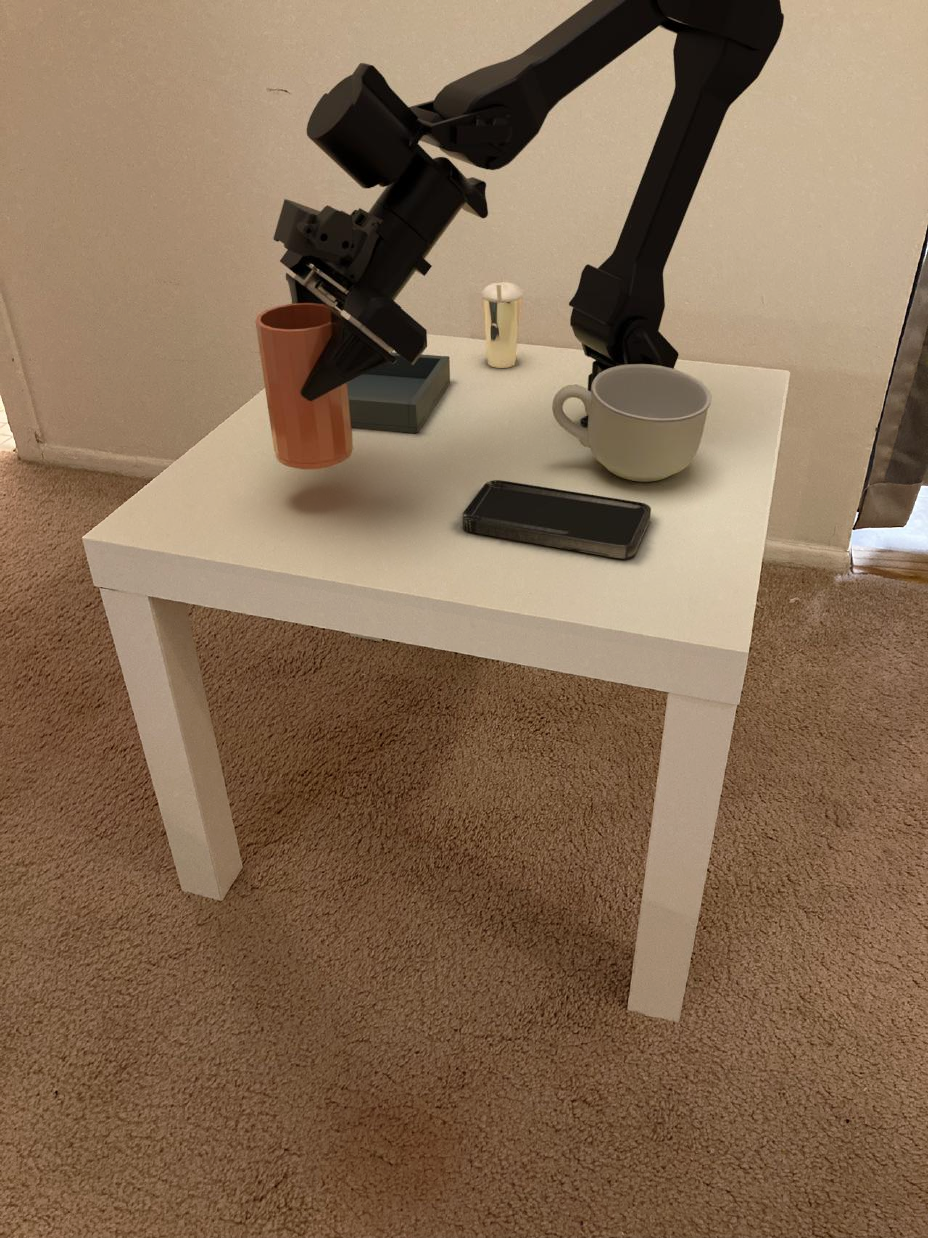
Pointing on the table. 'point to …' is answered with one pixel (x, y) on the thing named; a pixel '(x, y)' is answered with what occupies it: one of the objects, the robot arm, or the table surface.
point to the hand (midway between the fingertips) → (290, 382)
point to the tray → (398, 393)
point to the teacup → (639, 419)
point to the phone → (558, 518)
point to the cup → (287, 360)
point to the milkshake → (501, 322)
